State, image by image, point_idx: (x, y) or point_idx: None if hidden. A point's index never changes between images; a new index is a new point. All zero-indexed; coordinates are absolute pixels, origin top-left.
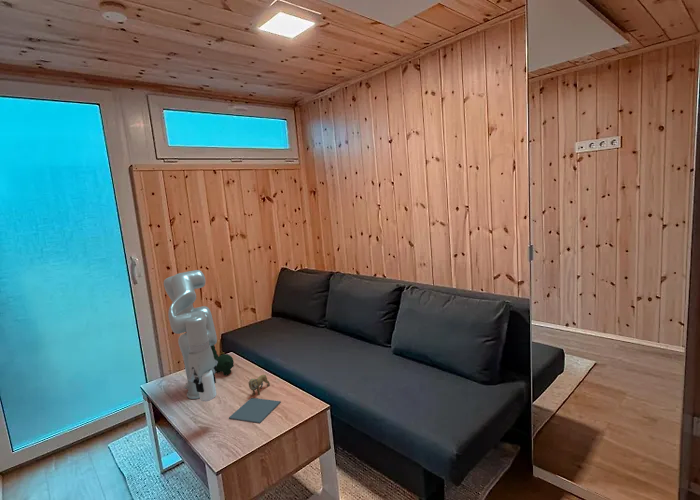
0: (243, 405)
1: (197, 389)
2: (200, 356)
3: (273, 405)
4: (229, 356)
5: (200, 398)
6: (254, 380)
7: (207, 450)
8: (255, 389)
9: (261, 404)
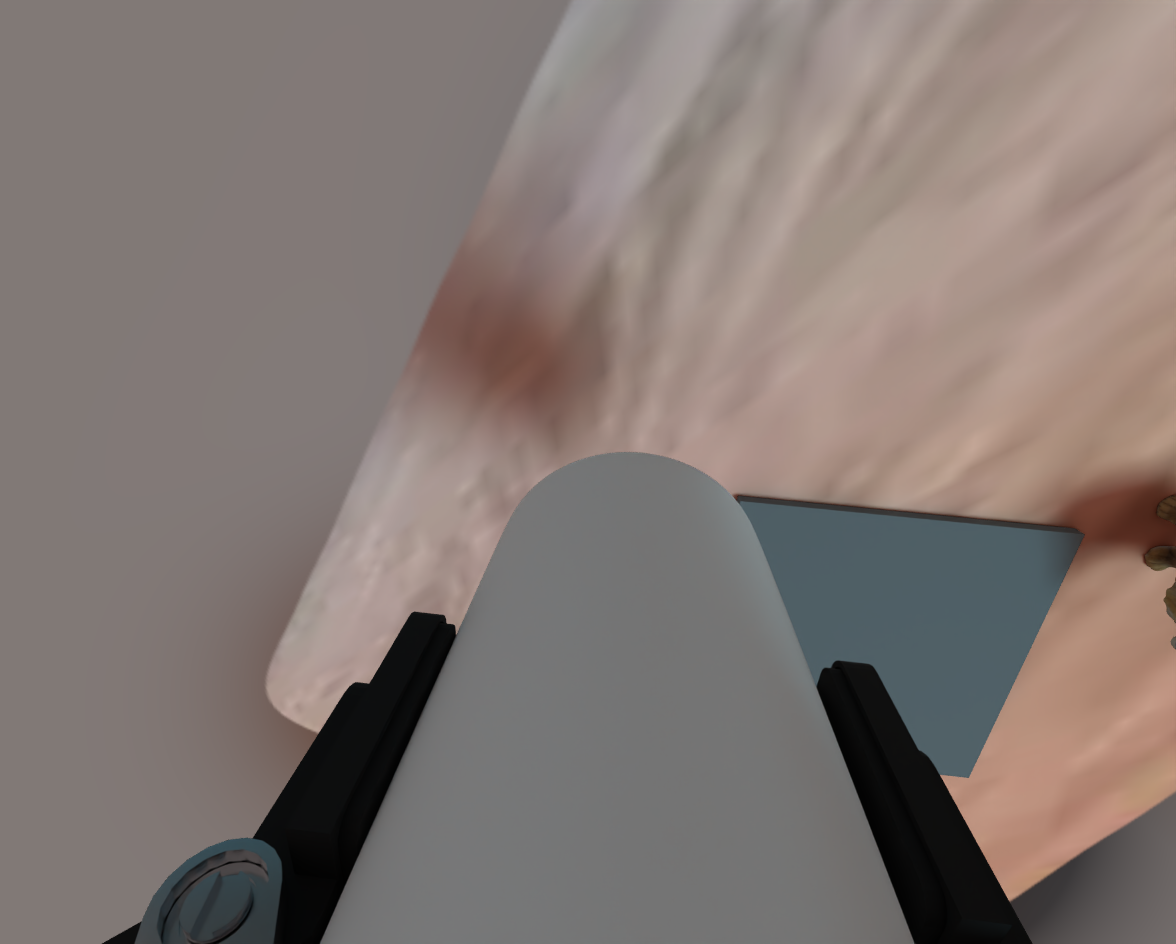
0: (939, 529)
1: (342, 725)
2: None
3: None
4: None
5: (504, 531)
6: None
7: (357, 556)
8: None
9: (936, 668)
